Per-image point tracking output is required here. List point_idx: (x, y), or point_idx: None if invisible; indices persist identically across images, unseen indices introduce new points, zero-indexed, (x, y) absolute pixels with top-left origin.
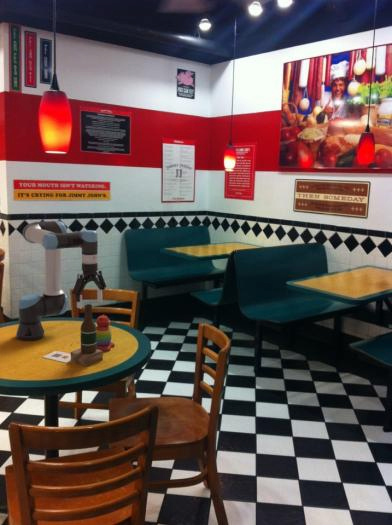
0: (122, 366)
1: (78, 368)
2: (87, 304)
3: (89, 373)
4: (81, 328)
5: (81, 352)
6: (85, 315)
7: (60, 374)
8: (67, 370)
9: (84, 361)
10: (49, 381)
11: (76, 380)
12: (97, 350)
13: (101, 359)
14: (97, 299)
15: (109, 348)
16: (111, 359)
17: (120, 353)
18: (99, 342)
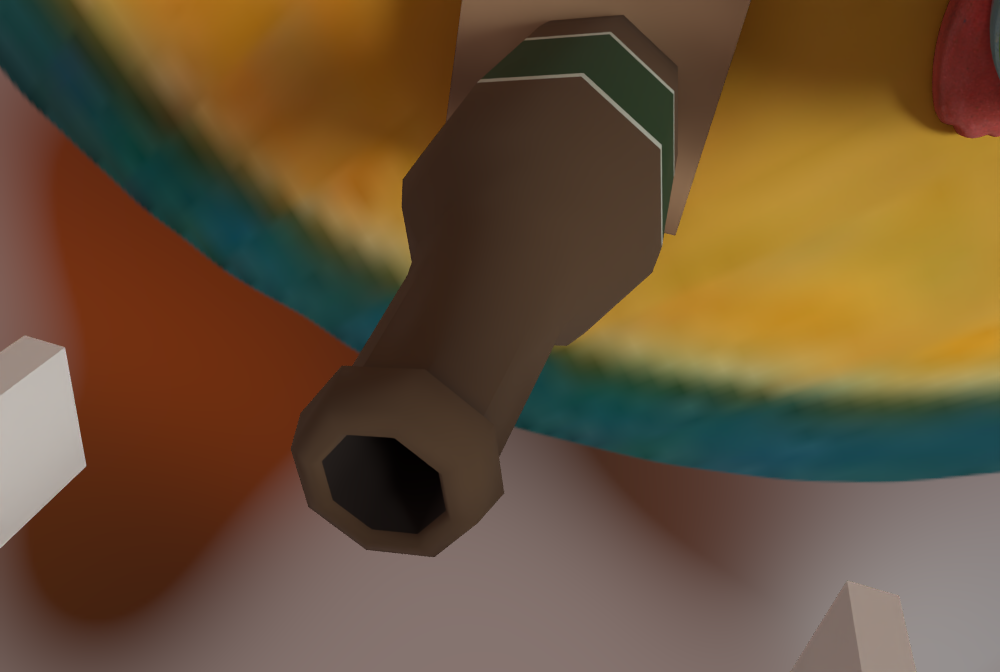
0: (615, 408)
1: (396, 103)
2: (414, 451)
3: (368, 246)
4: (434, 139)
5: None
6: (386, 311)
7: (214, 36)
8: (308, 37)
9: None
10: (76, 44)
11: (221, 225)
12: None
13: None
14: (859, 649)
15: (991, 135)
16: (726, 266)
17: (925, 274)
18: (991, 25)
